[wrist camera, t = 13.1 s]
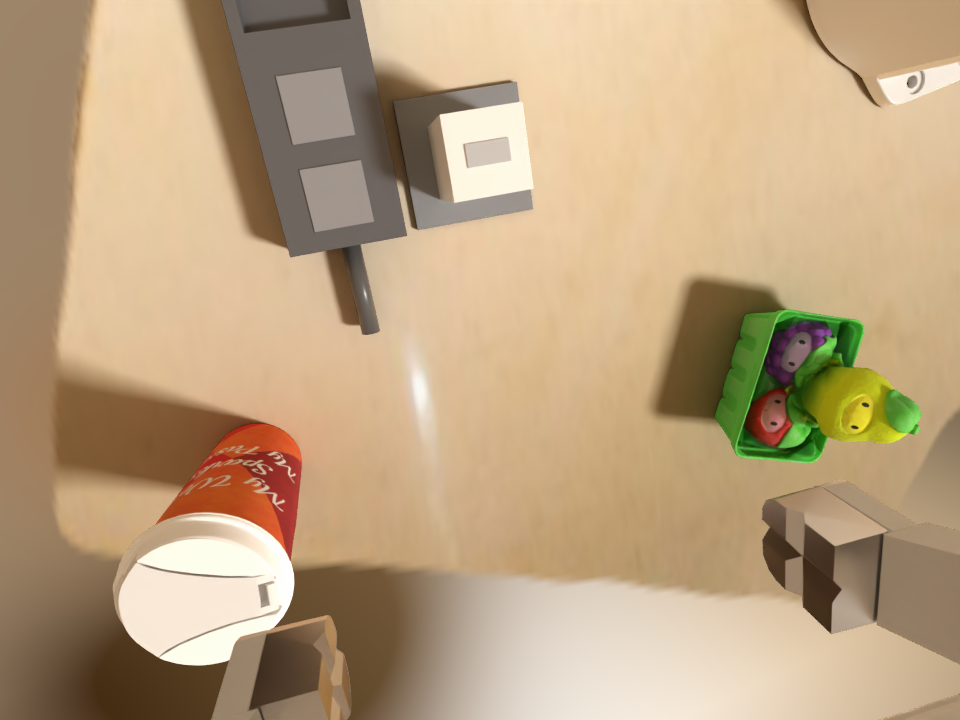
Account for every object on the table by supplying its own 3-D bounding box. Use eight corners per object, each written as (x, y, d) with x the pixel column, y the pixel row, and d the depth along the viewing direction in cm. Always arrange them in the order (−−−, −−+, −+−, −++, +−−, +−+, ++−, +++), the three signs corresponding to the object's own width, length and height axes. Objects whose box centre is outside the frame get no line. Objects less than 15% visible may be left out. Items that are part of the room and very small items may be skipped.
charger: (495, 116, 37) (523, 101, 30) (505, 188, 38) (534, 188, 32) (427, 127, 36) (439, 114, 30) (440, 199, 38) (454, 202, 31)
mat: (515, 82, 37) (516, 81, 36) (531, 208, 39) (533, 209, 39) (393, 101, 36) (393, 100, 35) (417, 229, 38) (418, 230, 38)
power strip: (332, -127, 32) (327, -167, 28) (421, 317, 40) (426, 330, 37) (200, -113, 31) (177, -152, 27) (319, 338, 39) (314, 353, 36)
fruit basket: (734, 294, 44) (849, 329, 34) (830, 309, 46) (967, 347, 35) (695, 429, 47) (789, 500, 36) (786, 438, 49) (900, 508, 38)
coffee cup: (311, 403, 41) (279, 519, 26) (323, 504, 43) (299, 660, 29) (186, 413, 39) (81, 541, 25) (205, 517, 42) (119, 687, 28)
